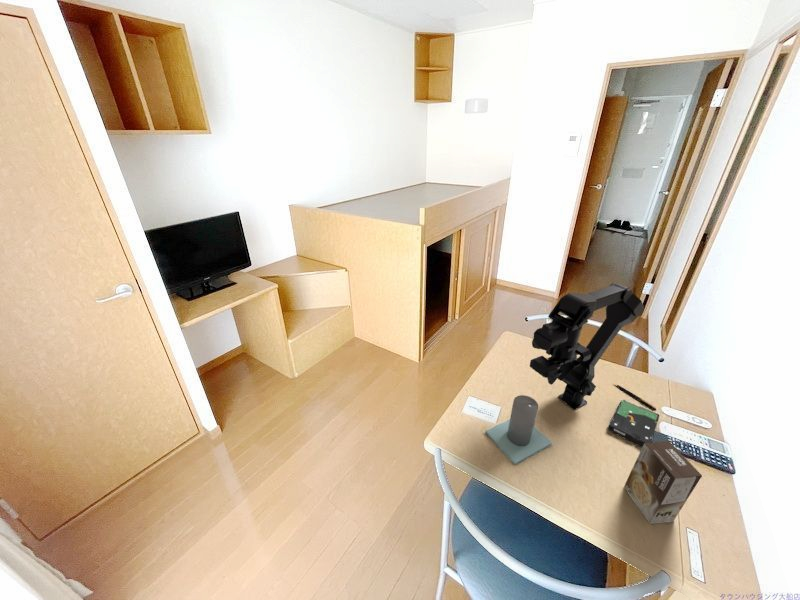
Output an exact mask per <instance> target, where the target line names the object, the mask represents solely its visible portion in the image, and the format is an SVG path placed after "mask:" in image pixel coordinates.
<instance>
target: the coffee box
mask: <svg viewBox="0 0 800 600" xmlns="http://www.w3.org/2000/svg"><path fill="white" fill-rule="evenodd" d="M702 477H703V474H701V473H700V472H699V471H698V470H697V468H696V467H694V466H693V464H692V463H691V462H690V461H689V460H688V459H687V458H686V457H685V456H684V455H683V454H682V453H681V452H680V451H679V450H678V448H676V447H675V445H673V444H672V443H671V441H669V440H658V441H651V443H644V445H643V447H641V449H640V452H639V454H638V455H637V458H636V460H635V463H634V464H633V466H632V468H631V470H630V473H629V474H628V476H627V479H626V481H625V483H624V485H623V488H624V489H625V491H626V492H627V494H628V495H629V496H630V498H631V499H632V501H633V502H634V504H635V505H636V506H637V508H638V509H639V510H640V512H641V514H642V515H643V516H644V517H645V519H646V521H648V523H649V524H651V525H654V524H662V523H663V524H664V523H672V522H675V520H676V518H677V516H678V515H679V513H680V512H681V510H682V508H683V507H684V505H685V504H686V502H687V500H688V499H689V497H690V496H691V494H692V493H693V491H694V489H695V488H696V487H697V485H698V483H699V481H700V480H701V479H702Z"/></svg>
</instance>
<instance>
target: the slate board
mask: <svg viewBox="0 0 800 600" xmlns="http://www.w3.org/2000/svg"><path fill="white" fill-rule="evenodd" d="M509 421H510V418H509V419H508V420H505V421H503V422H500V423H499V424H496V425H494V426H493V427H491V428H488V429H486V430H485V434H486V435H487V436H488V437H489V438H490V439H491V441H492V442H493V443H494V444H495V445H496V446H497V447H498V449H499V450H500V451H501V452H502V454H504V455H505V456H506V457H507V458H508V459H509V460H510V462H511V463H512V464H513V465H514V466H517V465H518V464H520V463H522V462H524V461H526V460H527V459H529V458H532V456H534V455H536V454H538V453H540V452H541V451H543V450H545V449H547V448H549V447H551V446H553V442H552V441H551V440H550V439H549V438H548V437H546V435H545V434H543V433H542V432H541V431H540V430H539V429H538V428H537V427H536V426H535V425H534V428H533V432H532V436H531V440H530V443H529V444H528V445H526V446H518V445H515V444H513V443H512V442H511V441H510V440H509V439H508V437H507V432H508V426H509Z"/></svg>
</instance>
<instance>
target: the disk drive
mask: <svg viewBox="0 0 800 600" xmlns="http://www.w3.org/2000/svg"><path fill="white" fill-rule="evenodd" d="M659 418H660V414H659V413H657V412H654V411H652V410H650V409H647V408H645V407H643V406H640V405H639V406H638V405H637V404H634V403H632V402H629V401H627V400H626V399H621V400H620V401H619V404H618V406H617V408H616V410H615V412H614V414H613V417H612V418H611V419H610V421H609V425H608V427H607V431H609V432H610V433H612V434H613V433H614V434H615V435H617V436H619V437H621V438H623V439H625V440H627V441H629V442H630V443H633V444H634V445H637V446H639V447H641V448H642V447H643V445H644V443H652V442H653V437H654V435H655V434H654V433H655V431H656V427H657V424H658V422H659Z"/></svg>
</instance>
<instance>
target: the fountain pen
mask: <svg viewBox="0 0 800 600" xmlns="http://www.w3.org/2000/svg"><path fill="white" fill-rule="evenodd" d="M613 385H615V386H616V387H617V388H618V389H620V391H623V392H624V393H625V394H627V395H629V396H630V397H632V398H633V399H635V400H636V401H639V402H640V403H641V404H643V405H645V406H646V407H648V408H650V409H652V410H654V411H657V408H656V407H655V406H654V405H653V404H651V403H649V402H648V401H646V400H645V399H643V398H641V397H639V396H638V395H636V394H635V393H633V392H631V391H629V390H627V389H626V388H625V387H622V386H620V385H619V384H616V383H613Z"/></svg>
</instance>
